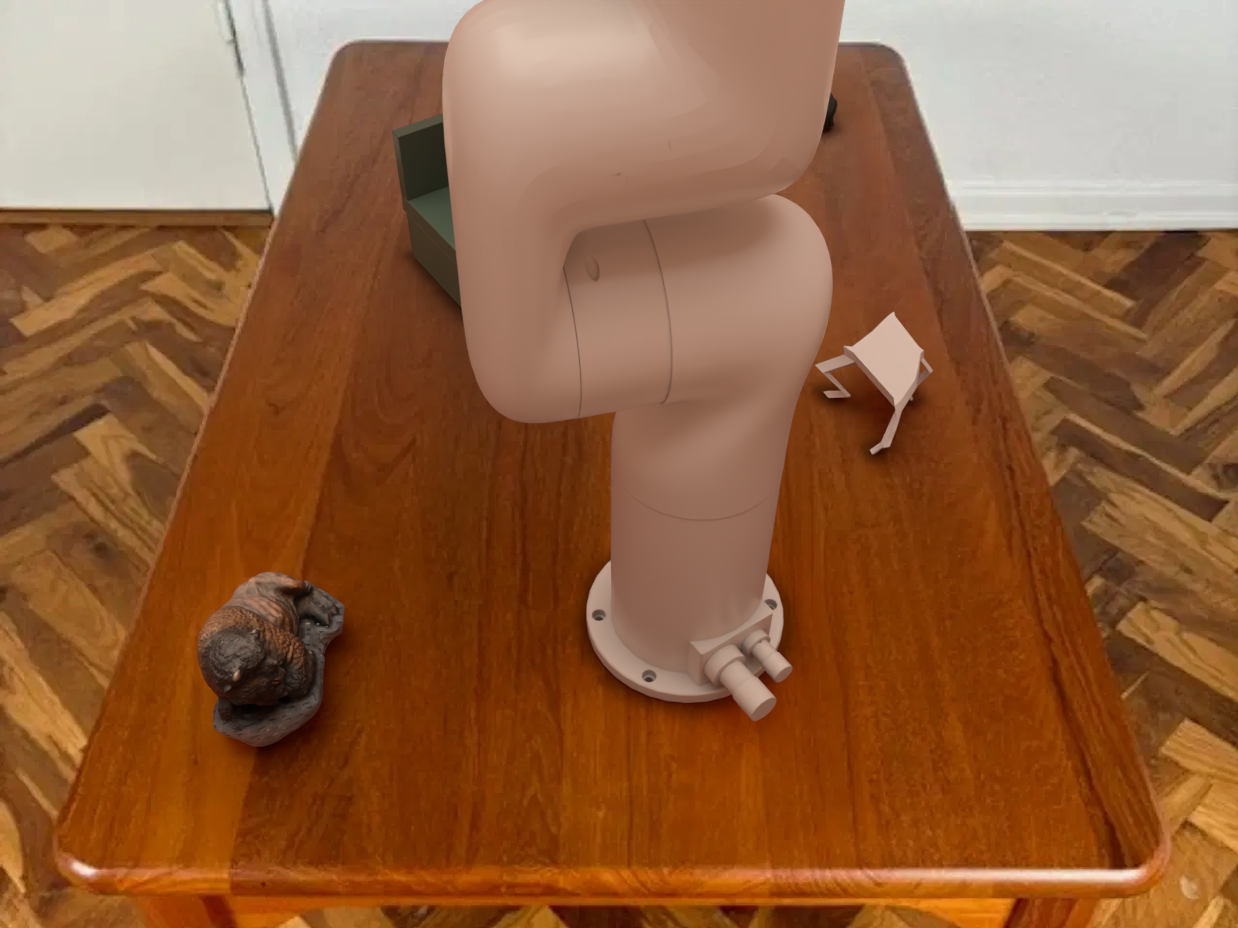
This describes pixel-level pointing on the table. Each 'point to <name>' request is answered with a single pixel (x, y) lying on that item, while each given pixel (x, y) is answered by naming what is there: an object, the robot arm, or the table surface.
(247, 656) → the bison figurine
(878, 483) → the table surface
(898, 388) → the origami figure
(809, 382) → the table surface
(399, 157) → the green toy chair
